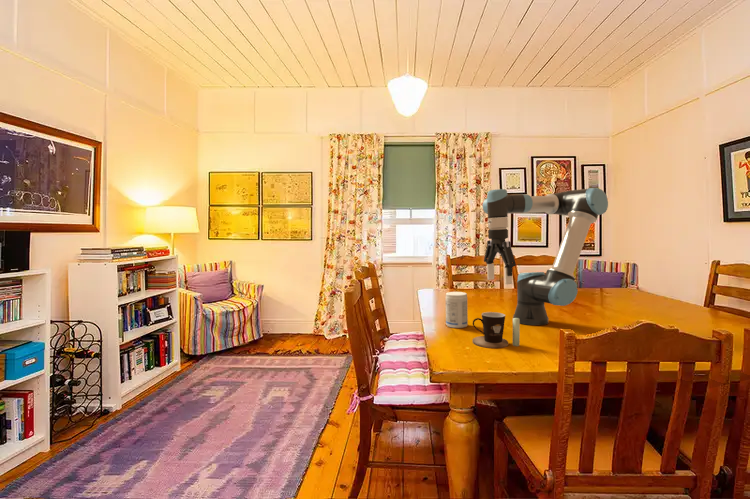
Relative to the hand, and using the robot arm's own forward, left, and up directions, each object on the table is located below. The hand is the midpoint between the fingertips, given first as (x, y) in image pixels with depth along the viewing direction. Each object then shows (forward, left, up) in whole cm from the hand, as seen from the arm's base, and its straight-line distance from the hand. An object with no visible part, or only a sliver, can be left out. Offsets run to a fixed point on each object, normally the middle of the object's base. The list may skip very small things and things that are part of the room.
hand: (499, 281), depth 155 cm
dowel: (+2, +13, -22) cm, 25 cm away
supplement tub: (+7, -21, -22) cm, 31 cm away
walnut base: (+9, +7, -22) cm, 25 cm away
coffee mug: (+9, +6, -21) cm, 24 cm away
